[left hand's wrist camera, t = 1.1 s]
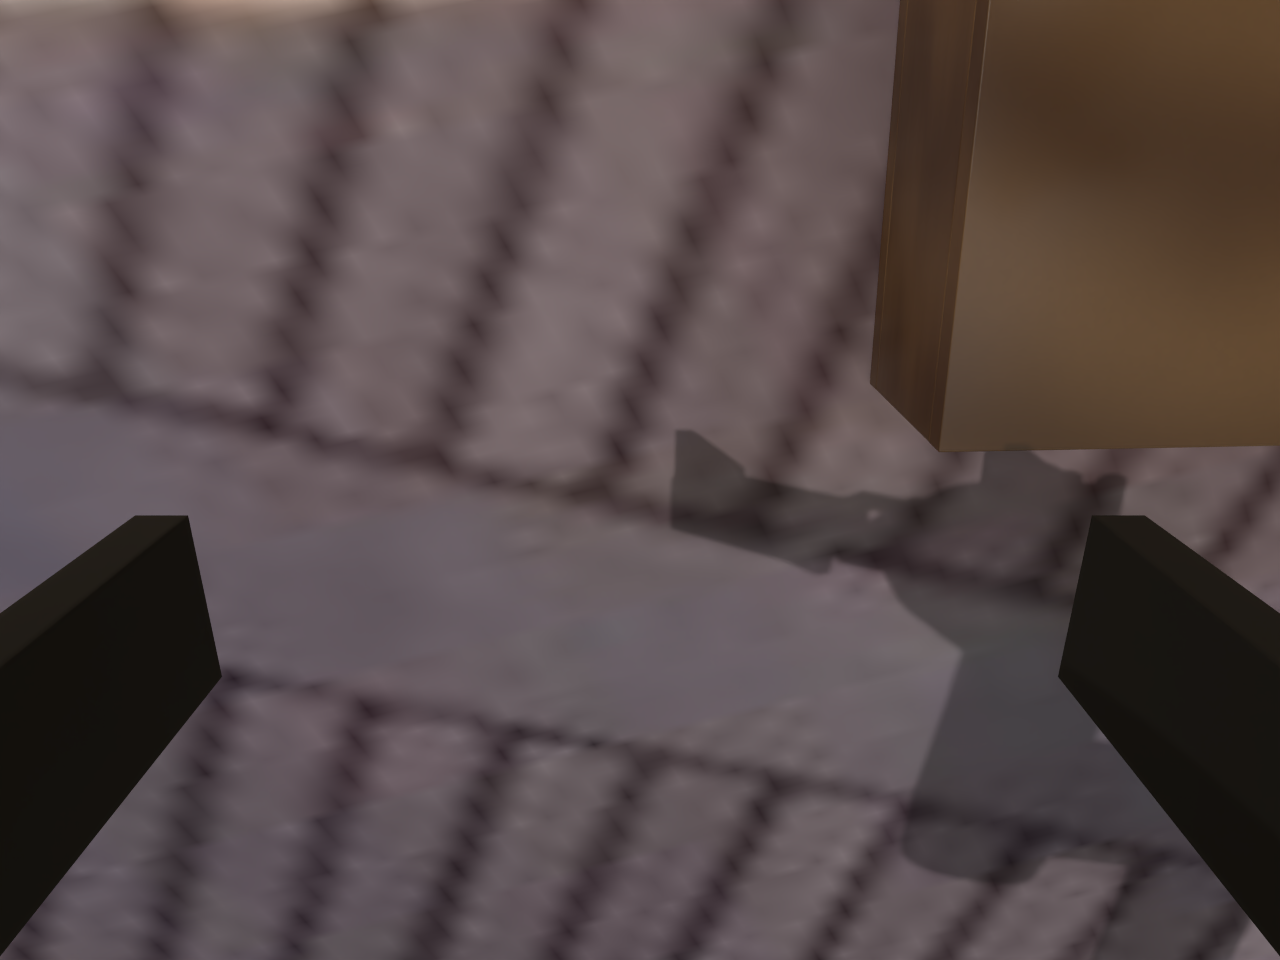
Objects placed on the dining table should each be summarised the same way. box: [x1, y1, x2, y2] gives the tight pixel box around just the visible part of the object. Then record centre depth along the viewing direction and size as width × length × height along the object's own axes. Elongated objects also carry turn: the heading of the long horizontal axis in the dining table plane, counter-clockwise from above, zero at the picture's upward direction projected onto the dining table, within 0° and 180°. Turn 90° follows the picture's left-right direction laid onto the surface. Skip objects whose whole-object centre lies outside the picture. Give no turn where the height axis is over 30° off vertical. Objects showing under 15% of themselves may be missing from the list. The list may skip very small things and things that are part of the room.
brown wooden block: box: [870, 0, 1280, 452], centre depth 28 cm, size 20×11×9 cm, turn 1°
